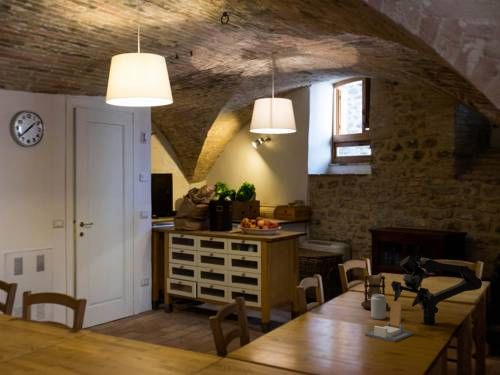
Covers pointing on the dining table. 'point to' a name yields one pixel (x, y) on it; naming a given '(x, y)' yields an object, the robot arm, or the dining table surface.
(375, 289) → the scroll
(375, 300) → the can
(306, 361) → the dining table surface
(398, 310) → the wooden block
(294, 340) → the dining table surface
